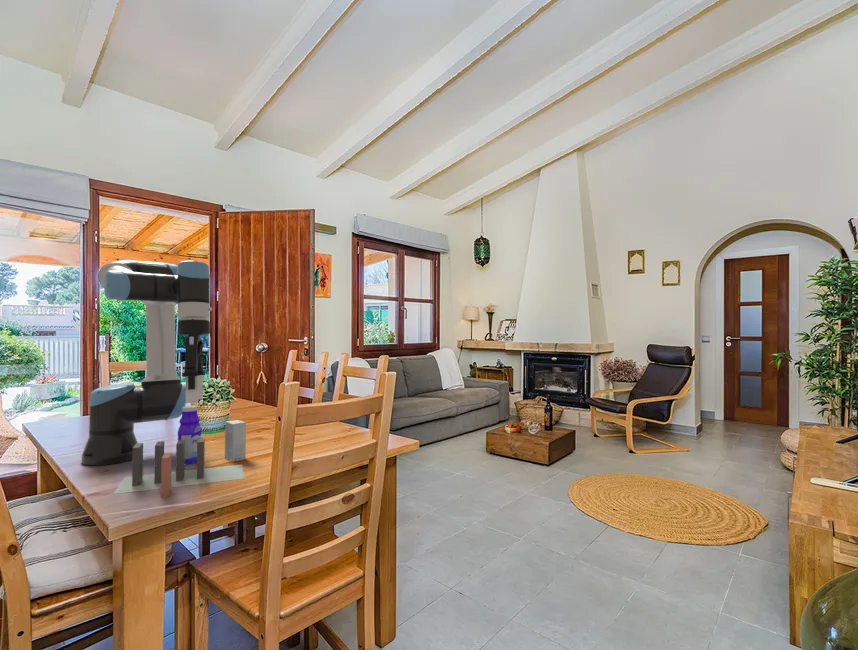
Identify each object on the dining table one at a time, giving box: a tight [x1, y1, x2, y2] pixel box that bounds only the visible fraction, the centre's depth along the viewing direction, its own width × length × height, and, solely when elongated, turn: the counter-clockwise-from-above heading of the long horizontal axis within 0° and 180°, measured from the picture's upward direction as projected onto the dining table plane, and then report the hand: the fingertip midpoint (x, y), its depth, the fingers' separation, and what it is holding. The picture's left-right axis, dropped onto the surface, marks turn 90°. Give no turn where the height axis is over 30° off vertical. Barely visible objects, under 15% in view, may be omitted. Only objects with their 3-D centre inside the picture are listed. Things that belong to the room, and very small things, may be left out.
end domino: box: [160, 452, 173, 499], centre depth 112 cm, size 2×5×10 cm, turn 24°
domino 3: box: [175, 439, 186, 481], centre depth 124 cm, size 2×5×10 cm, turn 24°
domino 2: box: [154, 440, 165, 484], centre depth 122 cm, size 2×5×10 cm, turn 24°
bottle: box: [177, 405, 202, 465], centre depth 140 cm, size 7×6×17 cm
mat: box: [113, 463, 245, 495], centre depth 124 cm, size 30×14×1 cm, turn 114°
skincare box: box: [224, 419, 247, 462], centre depth 143 cm, size 6×4×12 cm
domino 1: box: [131, 442, 144, 486], centre depth 120 cm, size 2×5×10 cm, turn 24°
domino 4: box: [196, 437, 206, 479], centre depth 126 cm, size 2×5×10 cm, turn 24°
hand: (194, 401), depth 117 cm, fingers open, 13 cm apart
